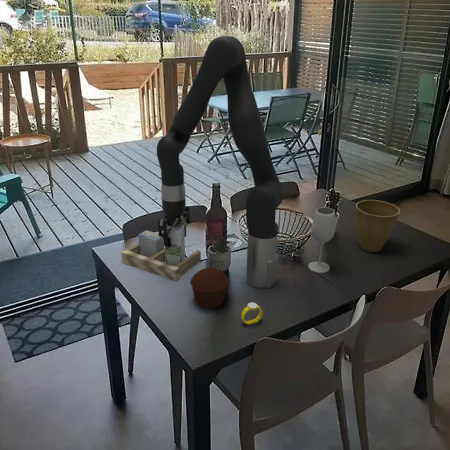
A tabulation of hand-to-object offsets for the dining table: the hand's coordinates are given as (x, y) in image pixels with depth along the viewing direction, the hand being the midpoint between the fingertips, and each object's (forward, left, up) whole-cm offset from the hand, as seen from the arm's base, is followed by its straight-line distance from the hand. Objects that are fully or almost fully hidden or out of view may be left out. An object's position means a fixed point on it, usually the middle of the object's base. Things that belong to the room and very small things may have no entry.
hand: (175, 241), depth 161 cm
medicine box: (+10, 0, -9) cm, 14 cm away
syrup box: (0, 0, -9) cm, 9 cm away
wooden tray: (+5, 0, -9) cm, 10 cm away
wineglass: (-42, -25, -9) cm, 49 cm away
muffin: (-21, +11, -9) cm, 25 cm away
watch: (-37, +14, -9) cm, 40 cm away
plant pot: (-53, -49, -9) cm, 72 cm away
